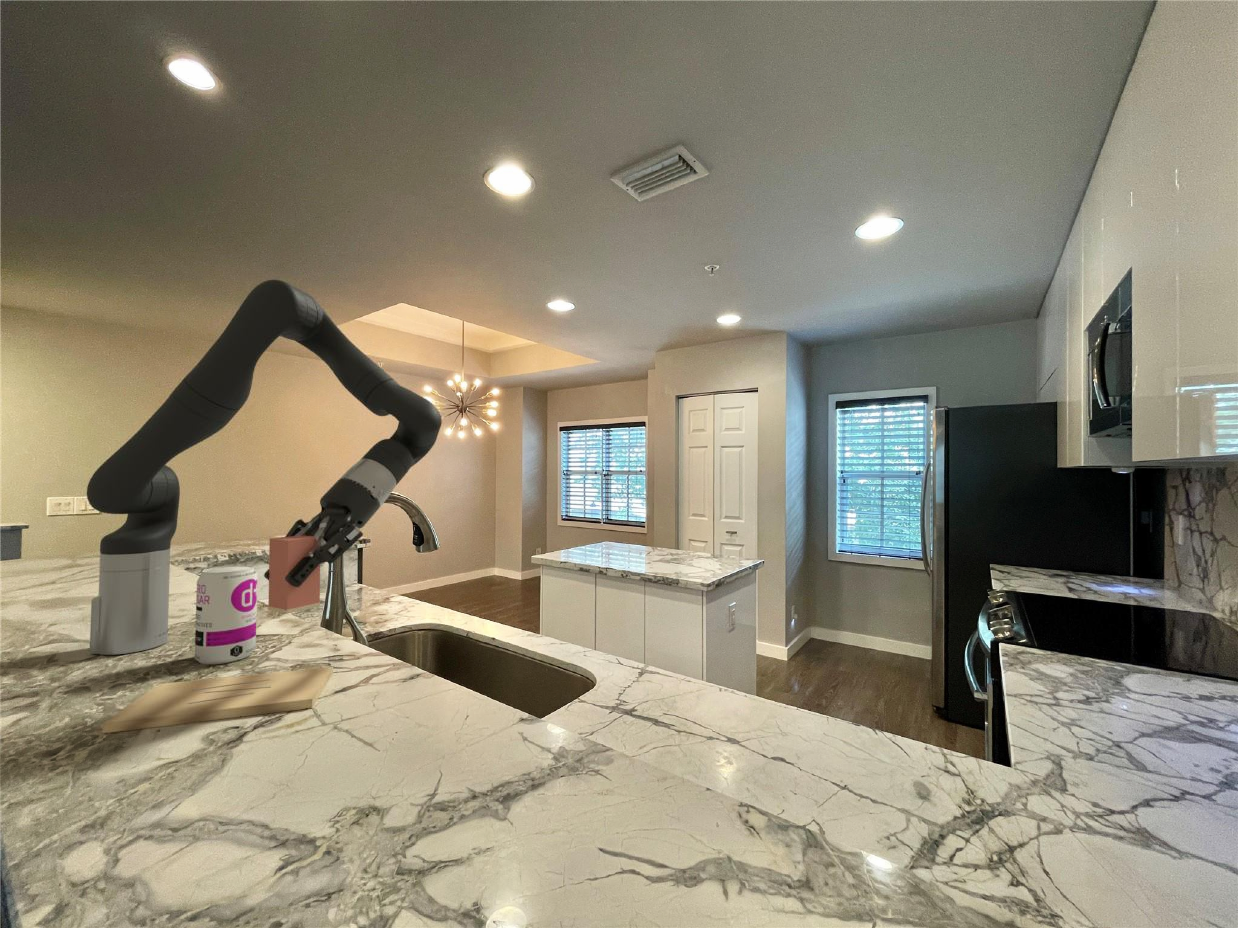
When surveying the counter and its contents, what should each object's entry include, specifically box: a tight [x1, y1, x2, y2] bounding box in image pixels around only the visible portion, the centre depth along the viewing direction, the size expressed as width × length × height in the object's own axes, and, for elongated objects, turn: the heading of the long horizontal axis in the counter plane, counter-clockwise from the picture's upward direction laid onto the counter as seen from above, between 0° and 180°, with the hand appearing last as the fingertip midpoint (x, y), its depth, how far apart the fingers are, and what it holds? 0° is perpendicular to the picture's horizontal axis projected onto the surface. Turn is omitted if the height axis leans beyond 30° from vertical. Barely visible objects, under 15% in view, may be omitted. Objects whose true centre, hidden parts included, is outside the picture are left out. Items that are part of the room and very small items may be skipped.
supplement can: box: [194, 564, 259, 666], centre depth 86 cm, size 8×8×15 cm
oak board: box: [101, 666, 334, 734], centre depth 69 cm, size 22×12×1 cm, turn 108°
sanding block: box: [267, 536, 321, 615], centre depth 72 cm, size 5×5×10 cm
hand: (280, 581), depth 70 cm, fingers closed on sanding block, 4 cm apart
